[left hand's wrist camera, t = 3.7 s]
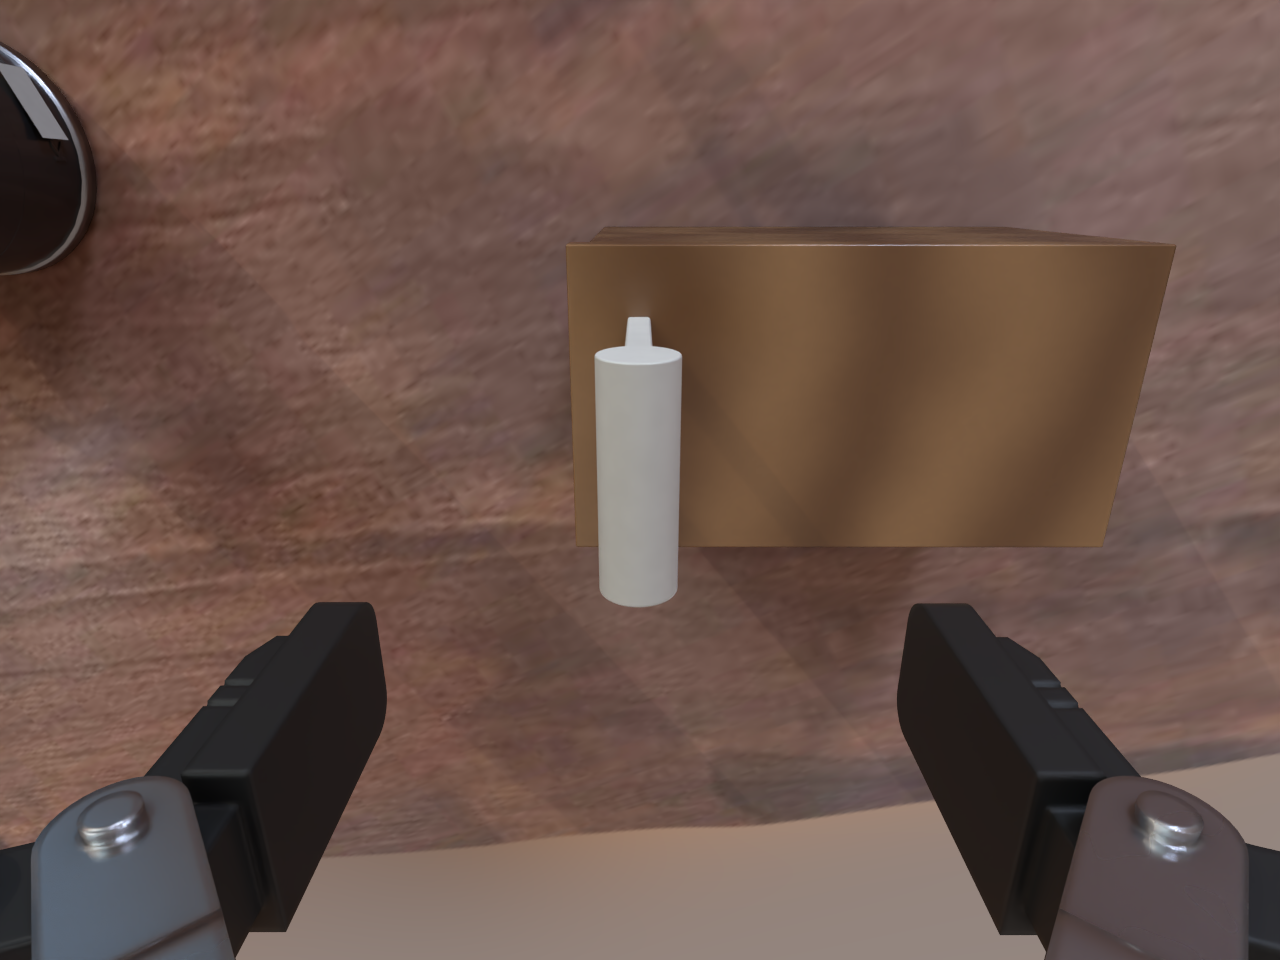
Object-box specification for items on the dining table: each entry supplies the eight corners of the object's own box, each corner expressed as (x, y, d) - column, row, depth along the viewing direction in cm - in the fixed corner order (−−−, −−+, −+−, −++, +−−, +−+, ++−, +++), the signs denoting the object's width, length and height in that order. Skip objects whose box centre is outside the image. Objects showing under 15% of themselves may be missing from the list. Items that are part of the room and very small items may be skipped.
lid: (578, 534, 27) (552, 675, 19) (568, 241, 23) (532, 268, 15) (1086, 535, 27) (1268, 676, 19) (1155, 242, 23) (1414, 269, 15)
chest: (606, 444, 36) (594, 534, 27) (603, 226, 32) (587, 242, 23) (970, 444, 36) (1085, 534, 27) (1006, 226, 32) (1154, 241, 23)
